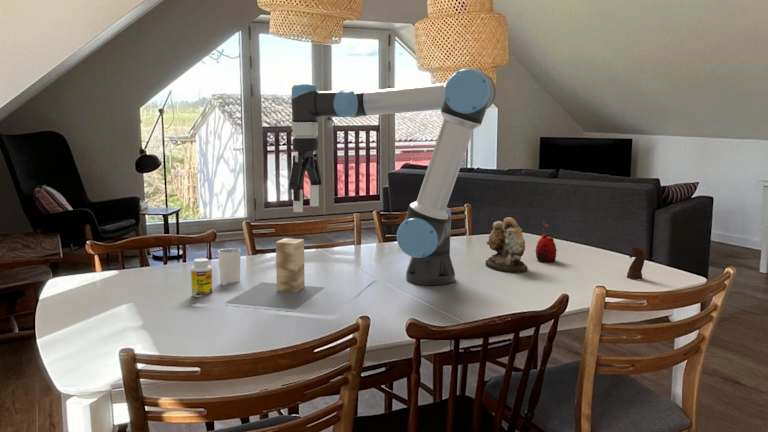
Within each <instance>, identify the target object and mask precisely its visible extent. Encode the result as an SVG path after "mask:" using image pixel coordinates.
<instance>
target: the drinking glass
mask: <svg viewBox="0 0 768 432" xmlns="http://www.w3.org/2000/svg"><path fill="white" fill-rule="evenodd" d="M241 253H242V251H241V249H240V248H231V247H230V248H221V249H219V250H217V254H218V255H217V256H218V267H219V269H218V270H219V280H220V285H222V286H226V285H227V284H234V283H238V282H240V281H241V256H242V254H241Z"/></svg>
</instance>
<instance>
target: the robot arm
mask: <svg viewBox="0 0 768 432" xmlns="http://www.w3.org/2000/svg"><path fill="white" fill-rule="evenodd" d="M291 87H292V88H291V99H290V101H291V127H290V128H291V130H292V136H293V137H294V138H292V139H291V140H292V142H291V143H292V150H293V151H294V152H297V154H293V155H292V167H291V172H290V177H289V179H290V180H289V187H288V188H289V190H292V206H293V207H292V208H293V212H294V213H304V205H303V204H304V199H303V197H304V196H303V192H304V191H303V189H302V187H303V182H304V179H305V174H306V173H307V176H308V179H309V182H310V184H309V206H310V207H319V206H320V196H319V195H320V192H319V191H320V190H319V188H320V187H319V186H321V185H322V176H321V171H320V166H319V159H318V157H319V156H318V153H317V152H314V151H318V150H319V139H318V138H317V137H318V136H319V128H318V127H319V125H318V124H319V123H318V118H343V119H344V118H359V117H367V116H379V115H389V114H391V115H392V114H400V113H414V112H425V111H438V110H440V113H441V116H442V118H443V121H442V123H441V127H440V129H439V134H438V136H437V139H436V142H435V145H434V148H433V150H432V154H431V157H430V158H429V162H428V166H427V169H426V172H425V175H424V177H423V181H422V184H421V186H420V189H419V193H418V195H417V199H416V200H415V201H413V202H410V204H409V205H408V208H407V210H406V211H407V212H406V214H405V217H404V220H403V221H402V222H401V223H400V225H399V226H398V228H397V231H396V242H397V244H398V246H399V248H400V250H401V251H402V252H403V253H405V254H406V255H408V256H409V257H410V260H409V264H408V266H407V270H406V276H405V279H406V281H407V282H409V283H413V284H415V285H422V286H423V285H424V286H442V285H449V284H452V283H454V282H455V281H456V272H455V268H454V265H453V262H452V259H451V258H452V257H451V228H452V227H451V224H452V212H451V209H450V208H449V207H448V204H449V201H450V198H451V195H452V192H453V189H454V186H455V184H456V181H457V179H458V175H459V172H460V169H461V166H462V163H463V161H464V157H465V155H466V152H467V149H468V146H469V143H470V141H471V138H472V135H473V133H474V130H475V129H476V128H478V127H480V126H481V125H482V124H483V119H484V117H485V115H486V112H487V110H488V109H489V108H490V107H491V106H492V105H493V103H494V101H495V99H496V94H497V88H496V84H495V82H494V81H493V78H491V76H490V75H488V74H487V73H484V72H483V71H481V70H479V69H478V68H477V69H476V68H472V67H469V68H462V69H460V70H458V71H456V72H454V73H453V74H451V76H450V77H449V78H448V79H447V81H446V82H442V83H435V84H434V83H433V84H421V85H413V86H403V87H394V88H393V87H392V88H384V89H374V90H373V89H371V90H365V91H363V90H362V91H353V90H347V89H345V90H344V89H342V90H325V91H324V90H318V86H317V85H316V84H311V83H300V84H299V83H298V84H294V85H292V86H291Z"/></svg>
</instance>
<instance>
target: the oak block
mask: <svg viewBox="0 0 768 432" xmlns="http://www.w3.org/2000/svg"><path fill="white" fill-rule="evenodd" d="M275 257H276V259H275V260H276V268H275V269H276V283H277V290H278V291H290V292H297V291H299V290H300V289H302V288H303V287H305V286H306V284H305V282H306V281H305V239H303V238H302V239H301V238H287V237H284V238H283V239H280V240H277V241H276V242H275Z"/></svg>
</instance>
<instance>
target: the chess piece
mask: <svg viewBox="0 0 768 432" xmlns="http://www.w3.org/2000/svg"><path fill="white" fill-rule="evenodd" d="M631 249H632V251H631V253H630V254H629V255H628V256H629V258H630V259H632V258H633V257H634V259H633V261H632V262H631V264H630V265H629V268H628V271H627V273H626V274H627V275H626V278H627V279H629V278H630V279H629V280H635V279H640V280H642V279H643V273H642V271H643V267H644V264H645V261H646V253H645V251H644V249H642V248H641V247H638V246H633V247H632V248H631Z"/></svg>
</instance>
